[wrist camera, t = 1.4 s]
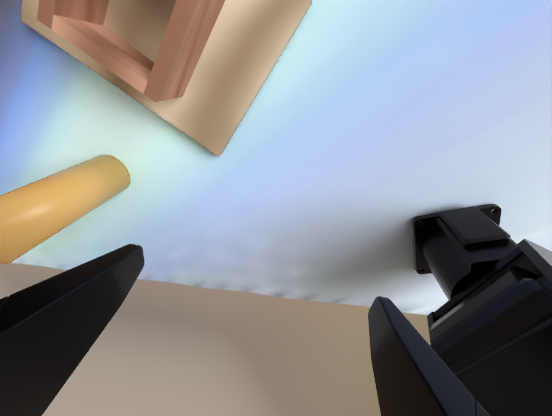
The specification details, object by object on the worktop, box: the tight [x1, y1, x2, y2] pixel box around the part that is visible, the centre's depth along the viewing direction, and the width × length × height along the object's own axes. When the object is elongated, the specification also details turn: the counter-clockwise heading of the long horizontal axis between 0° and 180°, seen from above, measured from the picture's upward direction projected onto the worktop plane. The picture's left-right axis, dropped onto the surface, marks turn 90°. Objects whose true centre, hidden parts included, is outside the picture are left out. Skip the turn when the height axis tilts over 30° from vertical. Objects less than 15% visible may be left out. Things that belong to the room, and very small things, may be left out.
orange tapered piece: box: [0, 155, 130, 264], centre depth 17 cm, size 4×4×15 cm
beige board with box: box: [21, 0, 312, 157], centre depth 14 cm, size 16×12×4 cm
